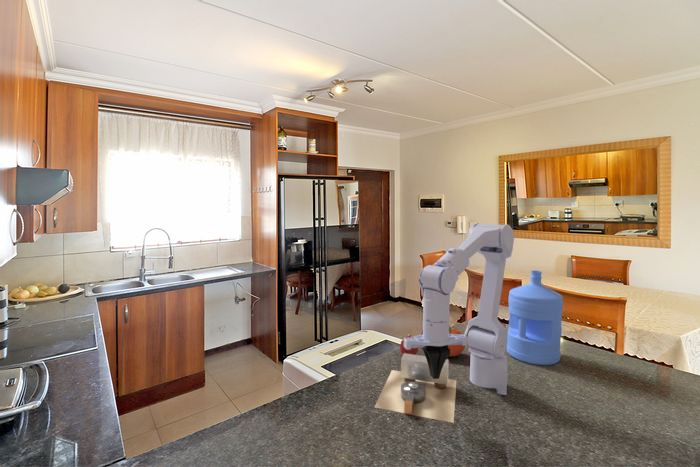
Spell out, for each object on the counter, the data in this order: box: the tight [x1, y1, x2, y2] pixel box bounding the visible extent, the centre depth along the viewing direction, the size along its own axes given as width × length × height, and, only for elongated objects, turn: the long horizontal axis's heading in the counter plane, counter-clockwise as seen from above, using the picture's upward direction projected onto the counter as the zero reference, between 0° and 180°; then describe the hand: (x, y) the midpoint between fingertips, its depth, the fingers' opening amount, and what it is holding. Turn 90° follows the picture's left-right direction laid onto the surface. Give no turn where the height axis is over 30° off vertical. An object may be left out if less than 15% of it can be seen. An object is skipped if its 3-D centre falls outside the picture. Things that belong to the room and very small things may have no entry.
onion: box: [399, 333, 419, 355], centre depth 111 cm, size 6×6×8 cm
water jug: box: [506, 270, 564, 366], centre depth 114 cm, size 16×16×28 cm
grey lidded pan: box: [401, 381, 426, 416], centre depth 85 cm, size 11×6×3 cm, turn 161°
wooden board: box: [374, 369, 457, 424], centre depth 89 cm, size 18×20×3 cm
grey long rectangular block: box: [400, 353, 450, 385], centre depth 93 cm, size 12×4×5 cm, turn 71°
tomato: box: [448, 325, 466, 358], centre depth 114 cm, size 10×10×10 cm
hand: (434, 376), depth 80 cm, fingers closed
